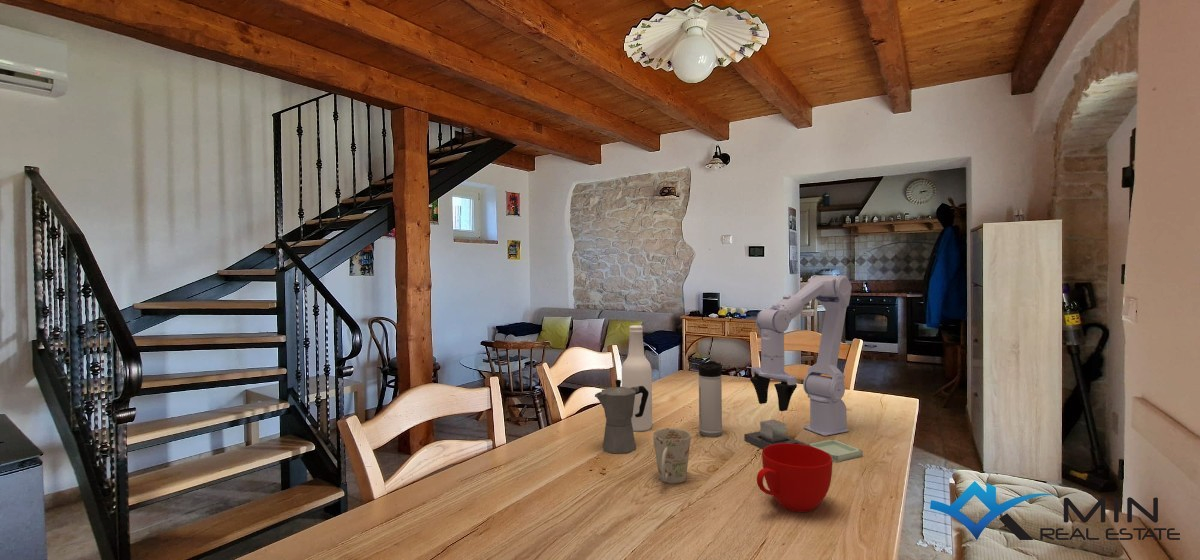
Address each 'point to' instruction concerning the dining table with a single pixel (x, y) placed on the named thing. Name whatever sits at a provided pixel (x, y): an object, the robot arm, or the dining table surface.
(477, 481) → the dining table surface
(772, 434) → the grey rectangular block
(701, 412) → the travel mug
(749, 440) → the dark grey flat frame
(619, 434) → the coffeepot
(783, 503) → the ceramic cup
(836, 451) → the tray
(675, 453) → the mug
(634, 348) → the alcohol
